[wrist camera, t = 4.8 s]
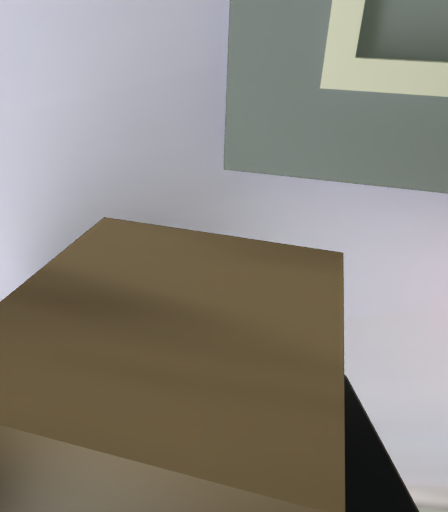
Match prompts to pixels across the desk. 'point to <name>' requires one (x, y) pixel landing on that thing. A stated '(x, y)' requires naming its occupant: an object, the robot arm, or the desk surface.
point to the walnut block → (174, 376)
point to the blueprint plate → (339, 91)
